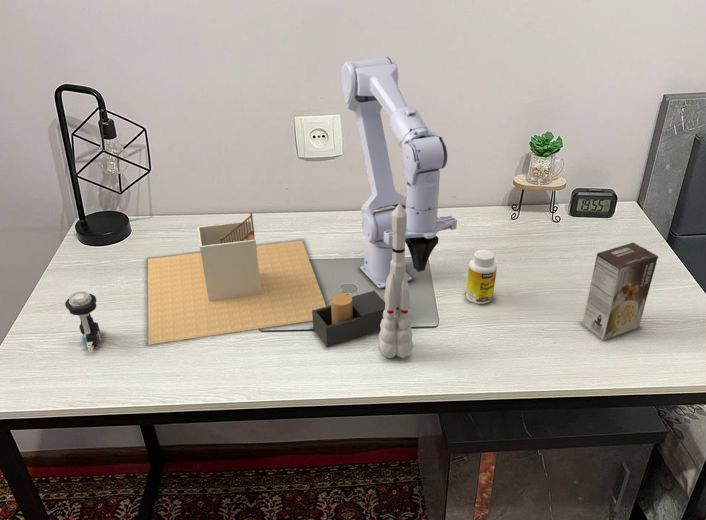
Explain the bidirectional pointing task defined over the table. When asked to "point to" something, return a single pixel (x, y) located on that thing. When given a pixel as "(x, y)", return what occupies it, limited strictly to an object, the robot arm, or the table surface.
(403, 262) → the rocket model
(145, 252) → the table surface
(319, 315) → the caddy
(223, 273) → the staircase
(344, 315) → the paper roll
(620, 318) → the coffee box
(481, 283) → the supplement bottle
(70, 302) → the push button
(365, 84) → the robot arm
